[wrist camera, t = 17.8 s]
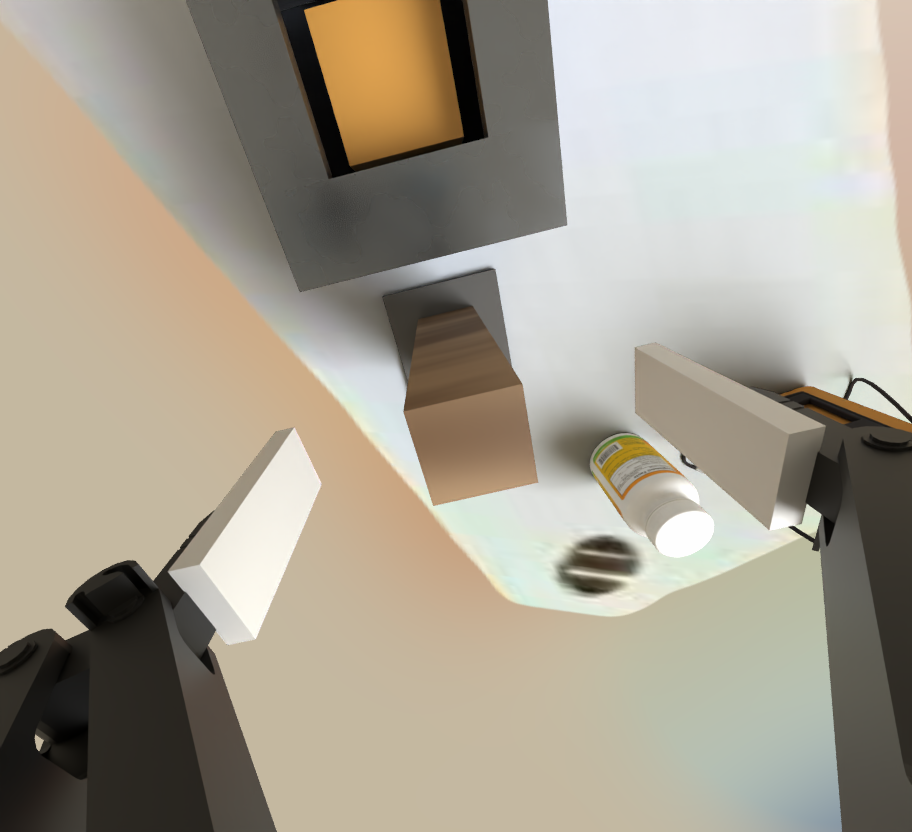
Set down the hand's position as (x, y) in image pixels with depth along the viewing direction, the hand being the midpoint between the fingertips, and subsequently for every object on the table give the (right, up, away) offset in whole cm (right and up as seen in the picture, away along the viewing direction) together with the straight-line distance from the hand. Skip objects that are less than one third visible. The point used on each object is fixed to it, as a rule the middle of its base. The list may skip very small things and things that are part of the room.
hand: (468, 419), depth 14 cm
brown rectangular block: (-1, +6, +13) cm, 14 cm away
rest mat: (-1, +6, +14) cm, 15 cm away
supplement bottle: (+14, -4, +19) cm, 24 cm away
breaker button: (-4, +17, +7) cm, 18 cm away
